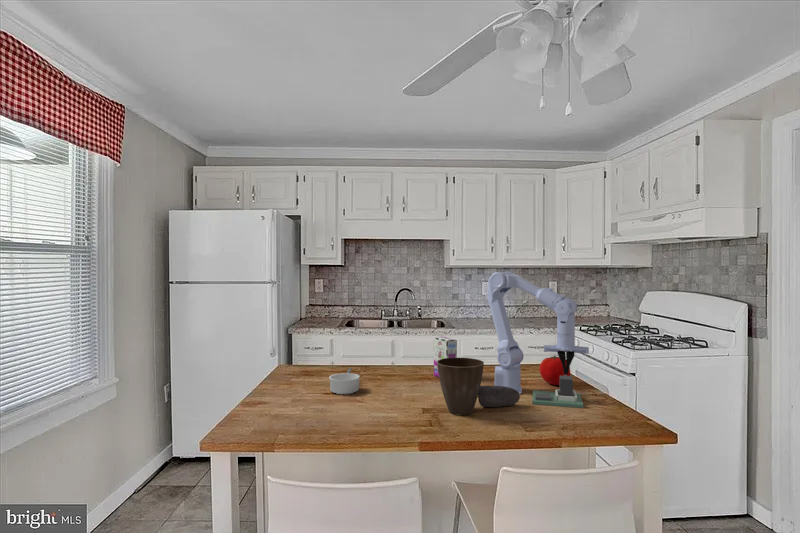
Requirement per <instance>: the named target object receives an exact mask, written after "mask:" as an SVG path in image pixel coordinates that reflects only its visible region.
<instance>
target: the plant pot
mask: <svg viewBox="0 0 800 533" xmlns="http://www.w3.org/2000/svg"><path fill="white" fill-rule="evenodd" d="M484 364H485V363H484V361H483V360H481V359H478V358H473V357H472V358H470V357H457V358H445V359H440V360H438V361H437V367H438V374H439V382H440V389H441V391H442V395H443V398H444V401H445V403H446V407H447V409H448V412H449V413H450V414H452V415H457V416H468V415H471V414H472V413H473V411H474V409H475V406H476V403H477V400H478V393H479V389H480V386H482V384H481V383H482V379H483V374H484V373H483V372H484Z"/></svg>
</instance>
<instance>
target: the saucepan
mask: <svg viewBox="0 0 800 533" xmlns="http://www.w3.org/2000/svg"><path fill="white" fill-rule="evenodd" d="M352 369H353V368H352V367H349V368H348V369H347V371H346V372H342V373H340V372H339V373H334V374H331V375H330V376H328V378H329V390H330V391H331V392H332V393H334V394H335V393H336V394H335V395H343V394H344V395H352V394H354V392H355V393H356V392H358V391H359V390H360V378H361V375H360V374H357V373H351V372H352Z"/></svg>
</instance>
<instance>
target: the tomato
mask: <svg viewBox="0 0 800 533" xmlns="http://www.w3.org/2000/svg"><path fill="white" fill-rule="evenodd" d="M539 373H540V376H541V378H542V379H543V380H544V382H546V383H548V384H550V385H554V386H560V376H564V375H567V376H571V366H570V367H569V372H568V374H564V370H563V366H562V363H561V360H560V358H559V356H556V355H553V356H550V357H545V358H544V359H542V361H541V362H540V365H539Z"/></svg>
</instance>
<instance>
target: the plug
mask: <svg viewBox="0 0 800 533" xmlns="http://www.w3.org/2000/svg"><path fill="white" fill-rule="evenodd" d="M573 381H574V380H573V376H571V375H570V376H567V375H564V376H560V385H559V389H560V396H573V390H574V389H573V387H574V386H573V385H574V382H573Z"/></svg>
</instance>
